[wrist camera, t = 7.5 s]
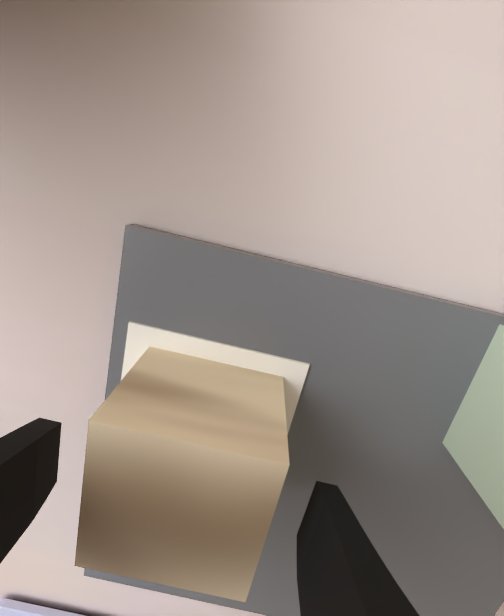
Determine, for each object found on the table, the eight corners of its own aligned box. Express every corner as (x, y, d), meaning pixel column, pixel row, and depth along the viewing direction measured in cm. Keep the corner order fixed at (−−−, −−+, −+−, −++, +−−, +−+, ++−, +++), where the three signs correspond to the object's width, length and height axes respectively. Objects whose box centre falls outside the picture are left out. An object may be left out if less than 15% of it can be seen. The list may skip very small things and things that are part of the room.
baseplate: (459, 644, 16) (466, 661, 15) (89, 564, 15) (82, 577, 15) (649, 349, 11) (669, 357, 11) (132, 223, 11) (124, 225, 10)
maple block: (252, 482, 13) (245, 602, 9) (132, 456, 13) (74, 566, 9) (282, 376, 11) (289, 464, 8) (149, 346, 11) (89, 420, 8)
